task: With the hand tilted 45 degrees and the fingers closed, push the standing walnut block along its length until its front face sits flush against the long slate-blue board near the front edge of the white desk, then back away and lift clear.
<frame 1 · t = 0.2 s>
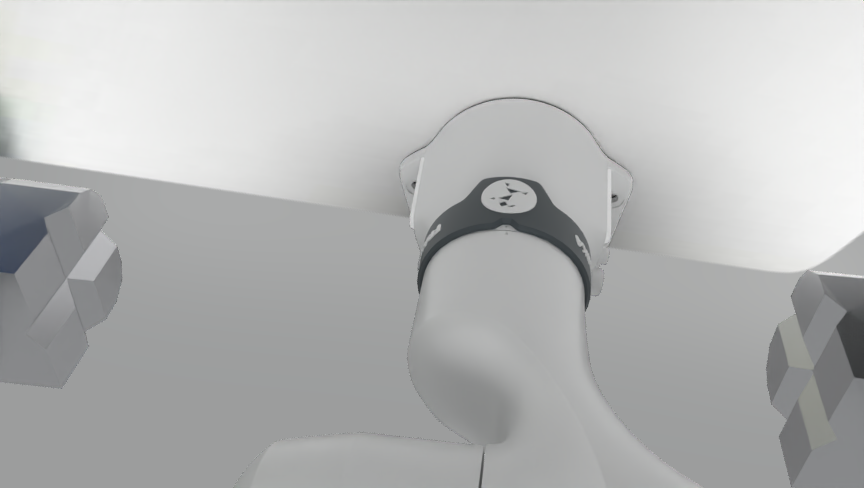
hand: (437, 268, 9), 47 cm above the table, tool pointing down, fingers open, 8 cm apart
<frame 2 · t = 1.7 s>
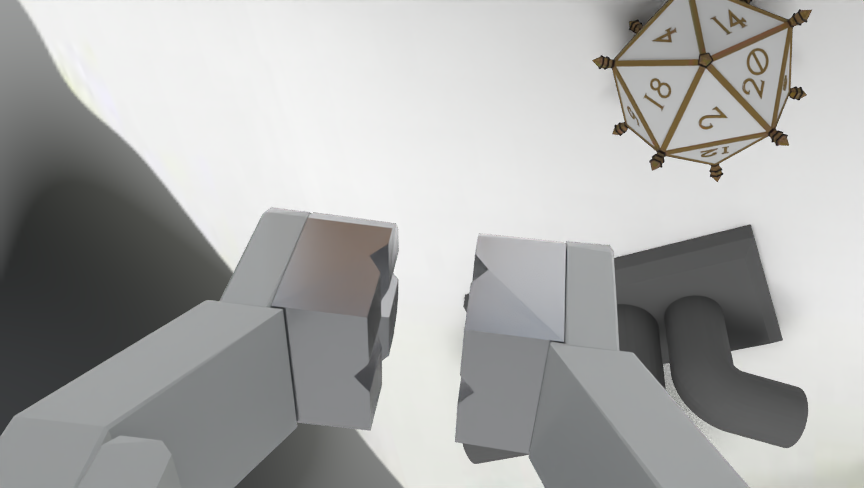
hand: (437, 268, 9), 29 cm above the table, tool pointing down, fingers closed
faucet: (634, 348, 51), on the table
game die: (691, 35, 37), on the table
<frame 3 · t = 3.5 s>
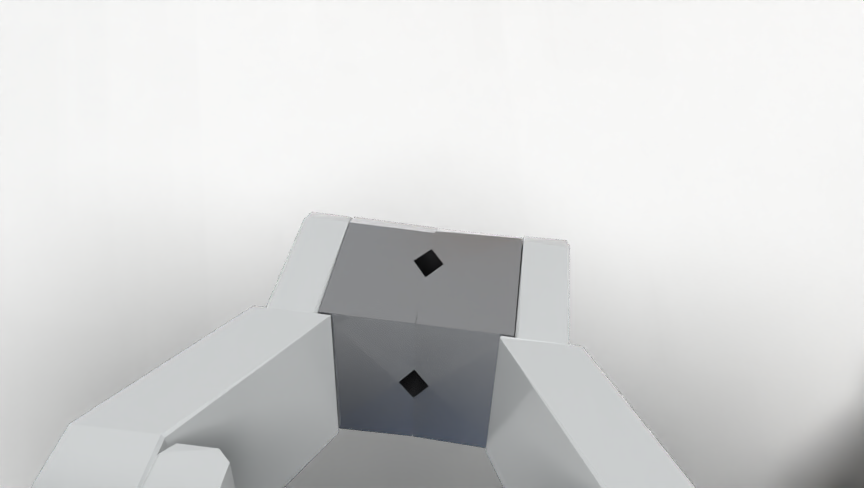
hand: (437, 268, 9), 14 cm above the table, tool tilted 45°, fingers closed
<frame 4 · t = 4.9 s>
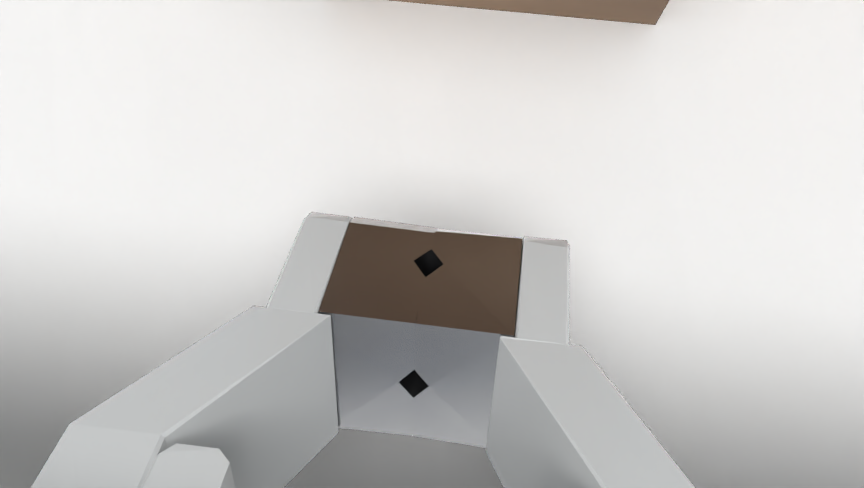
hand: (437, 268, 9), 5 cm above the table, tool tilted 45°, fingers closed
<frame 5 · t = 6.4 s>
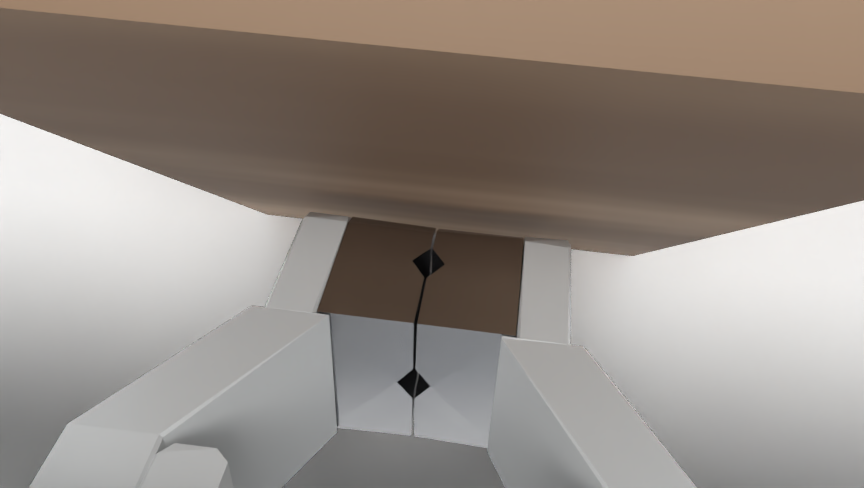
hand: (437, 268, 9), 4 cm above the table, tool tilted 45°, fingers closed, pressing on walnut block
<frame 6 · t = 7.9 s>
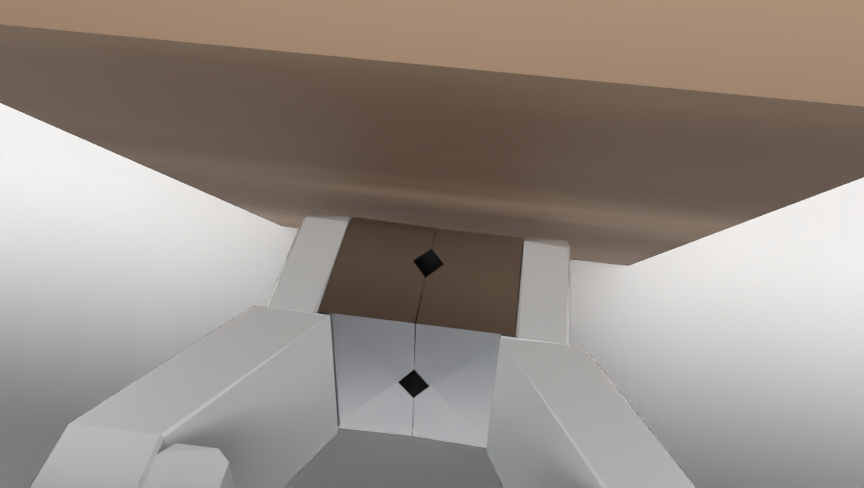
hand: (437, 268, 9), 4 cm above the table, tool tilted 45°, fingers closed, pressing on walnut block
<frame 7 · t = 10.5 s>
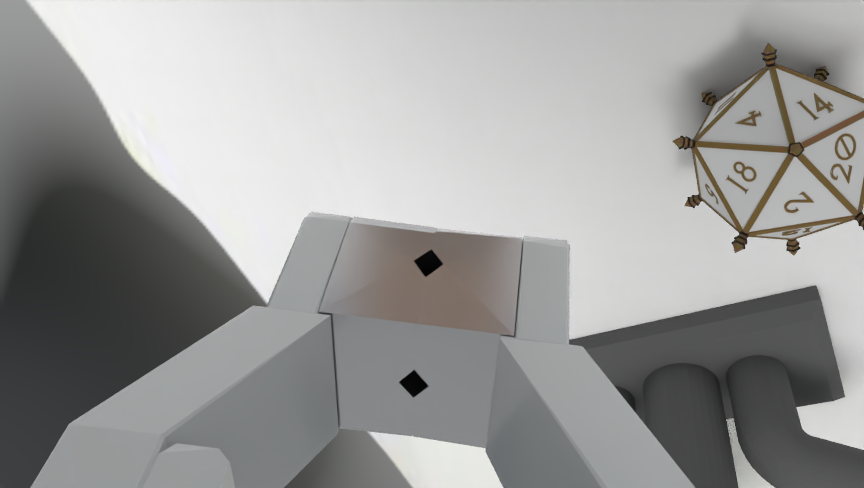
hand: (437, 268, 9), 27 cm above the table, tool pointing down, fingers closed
faucet: (691, 401, 51), on the table
game die: (764, 106, 37), on the table
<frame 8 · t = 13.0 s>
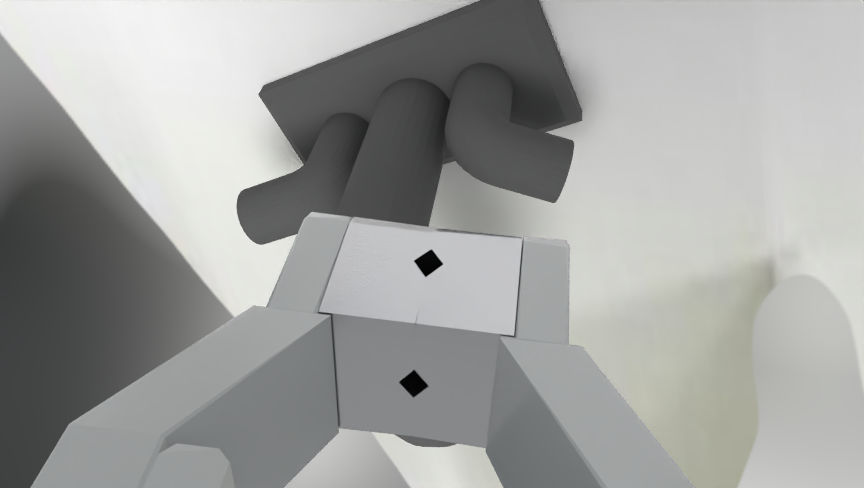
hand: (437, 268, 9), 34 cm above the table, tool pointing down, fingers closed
faucet: (444, 146, 49), on the table
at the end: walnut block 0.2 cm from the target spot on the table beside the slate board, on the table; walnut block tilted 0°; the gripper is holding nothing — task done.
